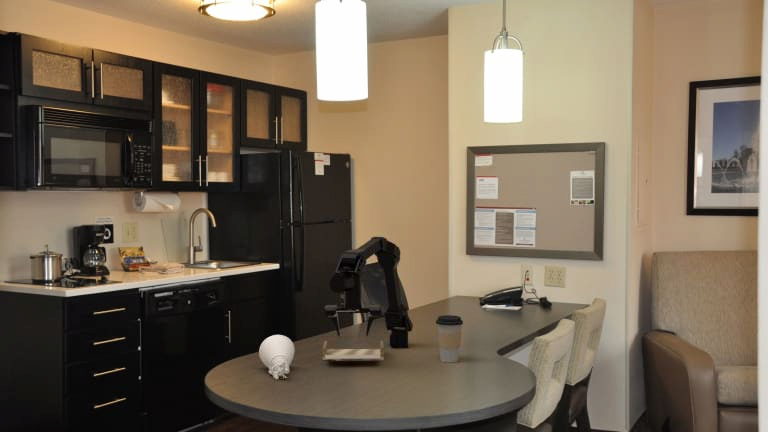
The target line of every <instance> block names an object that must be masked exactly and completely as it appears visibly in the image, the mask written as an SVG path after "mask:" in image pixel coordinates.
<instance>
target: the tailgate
mask: <svg viewBox="0 0 768 432" xmlns="http://www.w3.org/2000/svg"><path fill="white" fill-rule="evenodd" d="M379 358H380V355H325V359H341V360H340V361H366V360H365V359H379Z"/></svg>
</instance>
